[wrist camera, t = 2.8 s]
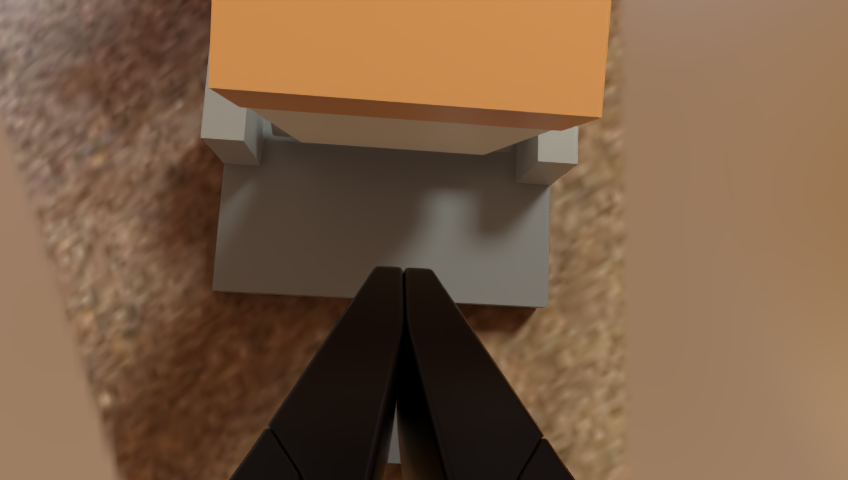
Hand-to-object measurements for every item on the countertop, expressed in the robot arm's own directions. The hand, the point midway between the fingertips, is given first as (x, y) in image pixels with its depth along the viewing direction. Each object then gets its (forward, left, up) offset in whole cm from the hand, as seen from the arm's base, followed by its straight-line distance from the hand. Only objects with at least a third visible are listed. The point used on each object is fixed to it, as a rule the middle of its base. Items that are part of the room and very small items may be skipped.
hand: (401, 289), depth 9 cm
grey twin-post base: (+5, -4, -11) cm, 12 cm away
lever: (+4, -3, -8) cm, 10 cm away
